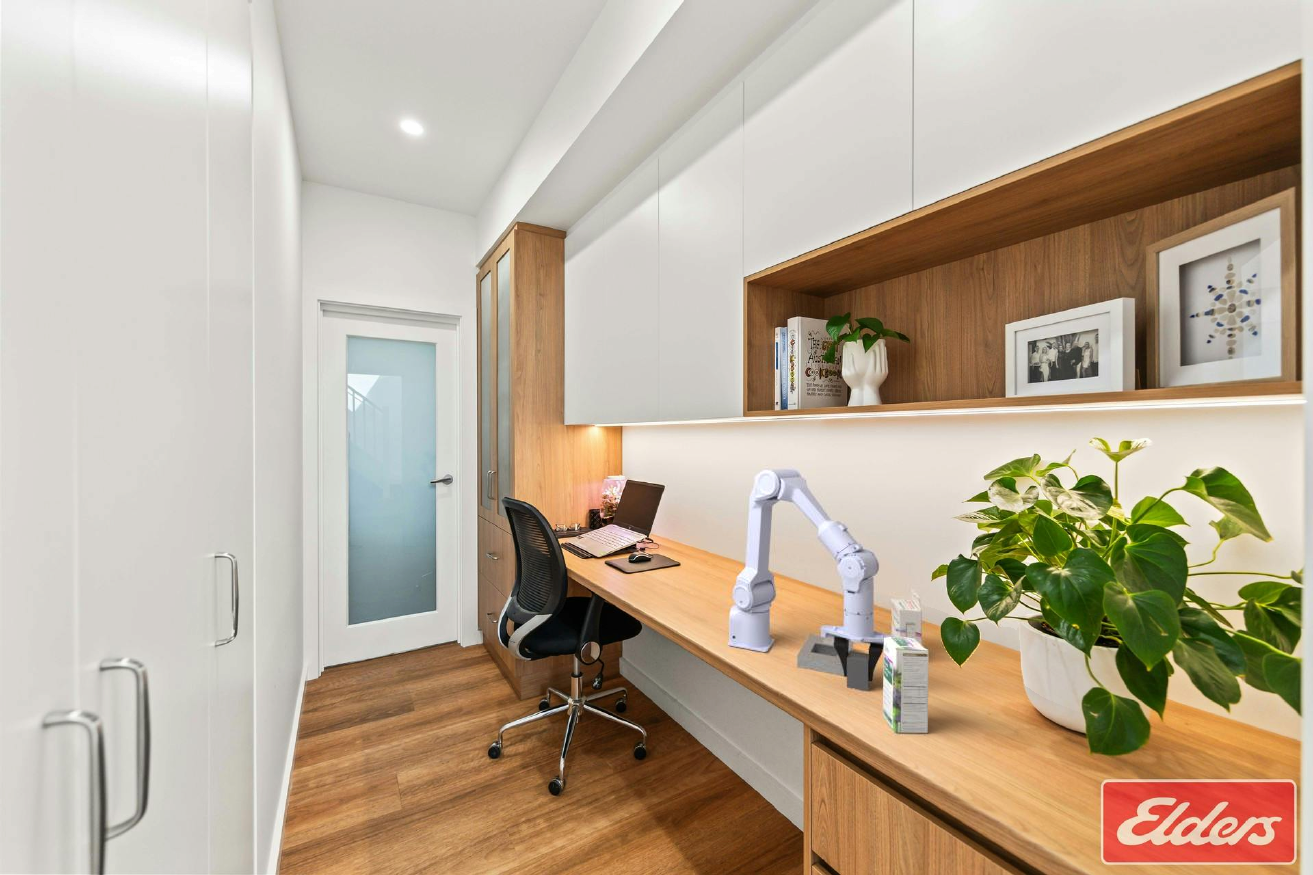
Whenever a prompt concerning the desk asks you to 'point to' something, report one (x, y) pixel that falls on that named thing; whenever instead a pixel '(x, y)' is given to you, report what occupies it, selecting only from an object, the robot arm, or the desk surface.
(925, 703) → the syrup box
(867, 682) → the plug
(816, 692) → the desk surface
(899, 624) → the ink cartridge box
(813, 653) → the socket plate
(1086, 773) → the desk surface
